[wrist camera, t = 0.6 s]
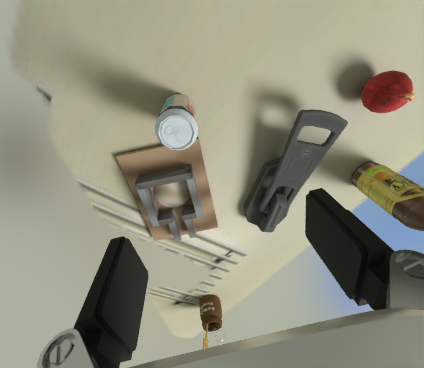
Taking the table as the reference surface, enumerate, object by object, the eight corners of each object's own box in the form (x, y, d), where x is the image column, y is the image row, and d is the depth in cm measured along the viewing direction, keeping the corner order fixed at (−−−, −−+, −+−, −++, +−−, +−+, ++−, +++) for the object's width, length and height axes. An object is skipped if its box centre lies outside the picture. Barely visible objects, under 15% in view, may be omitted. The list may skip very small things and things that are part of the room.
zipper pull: (355, 118, 30) (289, 243, 42) (329, 108, 36) (276, 221, 48) (300, 106, 29) (247, 239, 41) (281, 98, 34) (239, 217, 46)
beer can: (189, 128, 35) (191, 158, 25) (160, 120, 34) (150, 147, 24) (198, 99, 33) (204, 118, 23) (167, 89, 32) (159, 104, 21)
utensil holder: (224, 299, 62) (232, 347, 51) (207, 309, 63) (212, 357, 53) (211, 291, 59) (216, 340, 49) (194, 301, 61) (196, 351, 50)
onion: (347, 111, 37) (385, 123, 30) (352, 74, 34) (394, 79, 27) (381, 103, 36) (426, 113, 30) (388, 65, 33) (440, 67, 27)
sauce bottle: (385, 160, 43) (517, 229, 26) (371, 187, 46) (480, 263, 29) (357, 159, 42) (474, 229, 25) (344, 186, 45) (441, 265, 28)
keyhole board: (117, 154, 36) (110, 164, 33) (198, 137, 36) (199, 145, 33) (154, 237, 46) (152, 251, 43) (217, 224, 46) (219, 237, 43)
